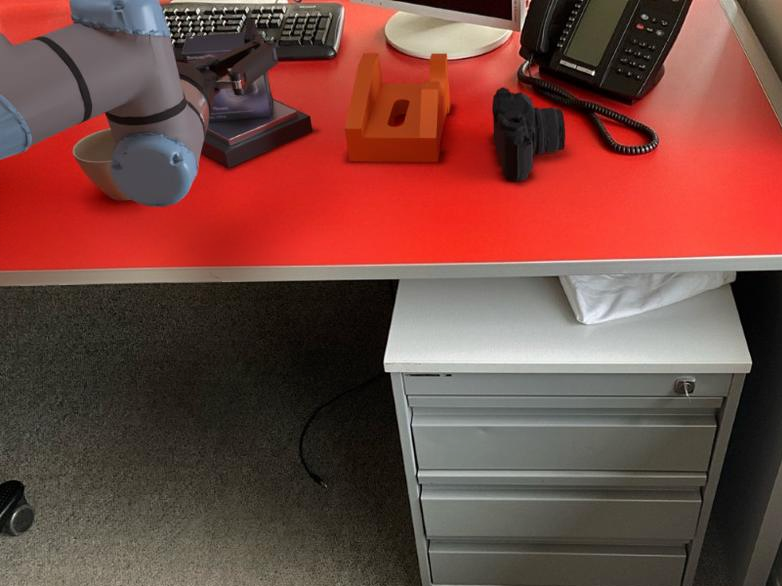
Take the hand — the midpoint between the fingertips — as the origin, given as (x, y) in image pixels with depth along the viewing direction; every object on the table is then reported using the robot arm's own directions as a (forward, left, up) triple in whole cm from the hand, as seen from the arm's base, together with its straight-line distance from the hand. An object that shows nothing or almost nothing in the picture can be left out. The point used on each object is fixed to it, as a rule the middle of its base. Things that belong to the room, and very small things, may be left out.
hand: (198, 33), depth 111 cm
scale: (-9, +8, -20) cm, 23 cm away
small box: (-9, +8, -16) cm, 21 cm away
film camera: (+28, +31, -20) cm, 46 cm away
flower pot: (-7, -12, -20) cm, 24 cm away
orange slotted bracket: (+9, +24, -20) cm, 32 cm away
